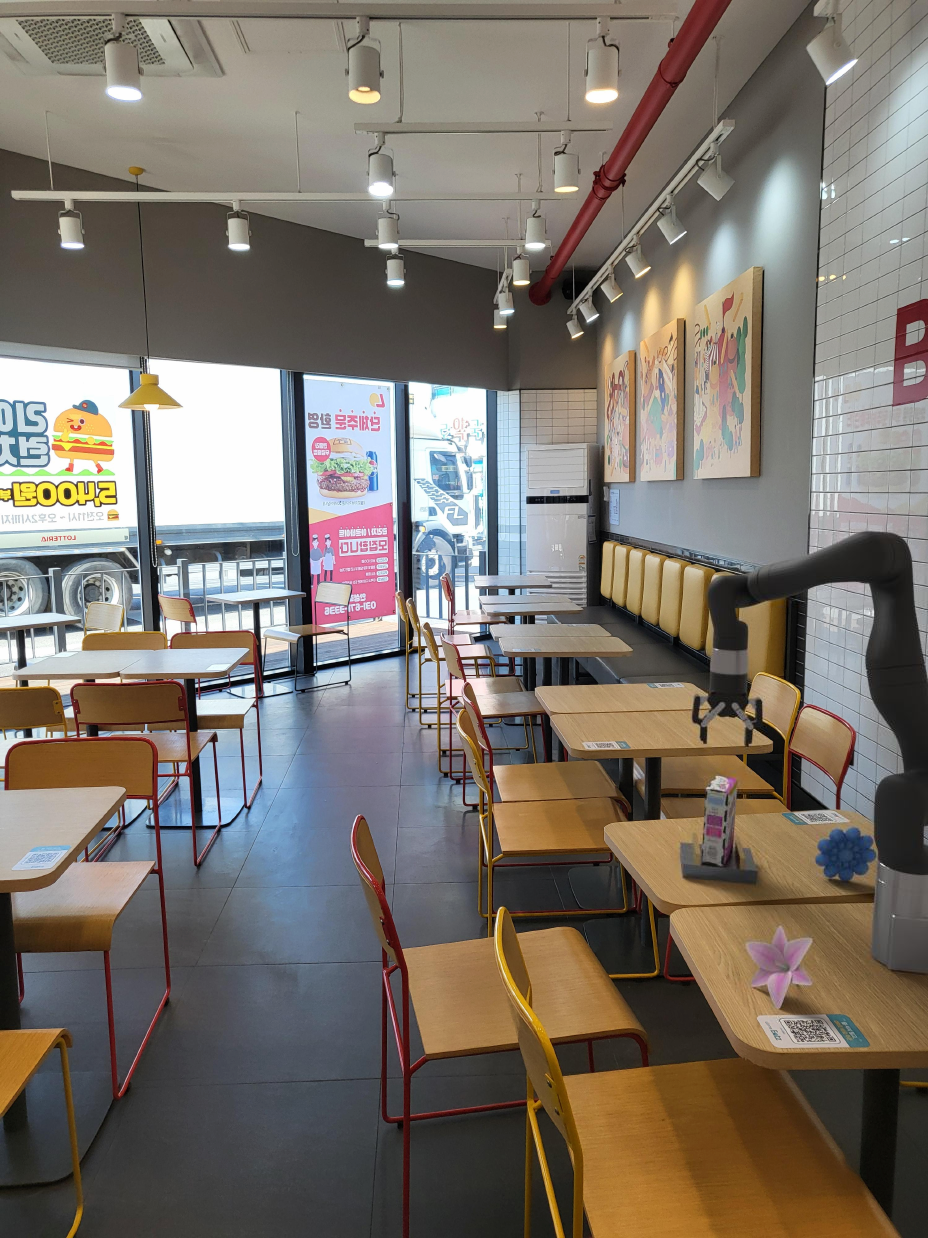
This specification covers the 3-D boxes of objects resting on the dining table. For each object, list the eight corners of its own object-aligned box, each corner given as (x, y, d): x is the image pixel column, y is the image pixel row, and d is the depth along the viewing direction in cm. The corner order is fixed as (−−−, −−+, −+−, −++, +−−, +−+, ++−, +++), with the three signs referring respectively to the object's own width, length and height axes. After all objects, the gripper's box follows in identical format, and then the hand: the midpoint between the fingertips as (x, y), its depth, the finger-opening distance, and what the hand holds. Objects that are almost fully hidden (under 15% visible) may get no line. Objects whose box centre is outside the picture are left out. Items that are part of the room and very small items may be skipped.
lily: (743, 970, 141) (728, 932, 138) (810, 949, 140) (797, 910, 136) (768, 1031, 131) (753, 992, 127) (841, 1009, 129) (828, 969, 125)
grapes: (872, 877, 176) (876, 823, 175) (875, 890, 170) (879, 834, 168) (813, 868, 180) (816, 815, 179) (814, 881, 174) (817, 826, 172)
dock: (756, 884, 172) (758, 859, 171) (682, 877, 175) (683, 852, 174) (749, 861, 184) (750, 837, 183) (679, 855, 187) (680, 831, 186)
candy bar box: (724, 868, 173) (728, 792, 171) (700, 863, 175) (704, 788, 173) (734, 849, 183) (738, 778, 181) (711, 845, 185) (715, 774, 183)
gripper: (695, 671, 171) (692, 747, 173) (767, 674, 169) (763, 751, 170) (692, 665, 179) (689, 738, 181) (761, 668, 176) (758, 742, 178)
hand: (725, 744), depth 176 cm, fingers open, 8 cm apart
